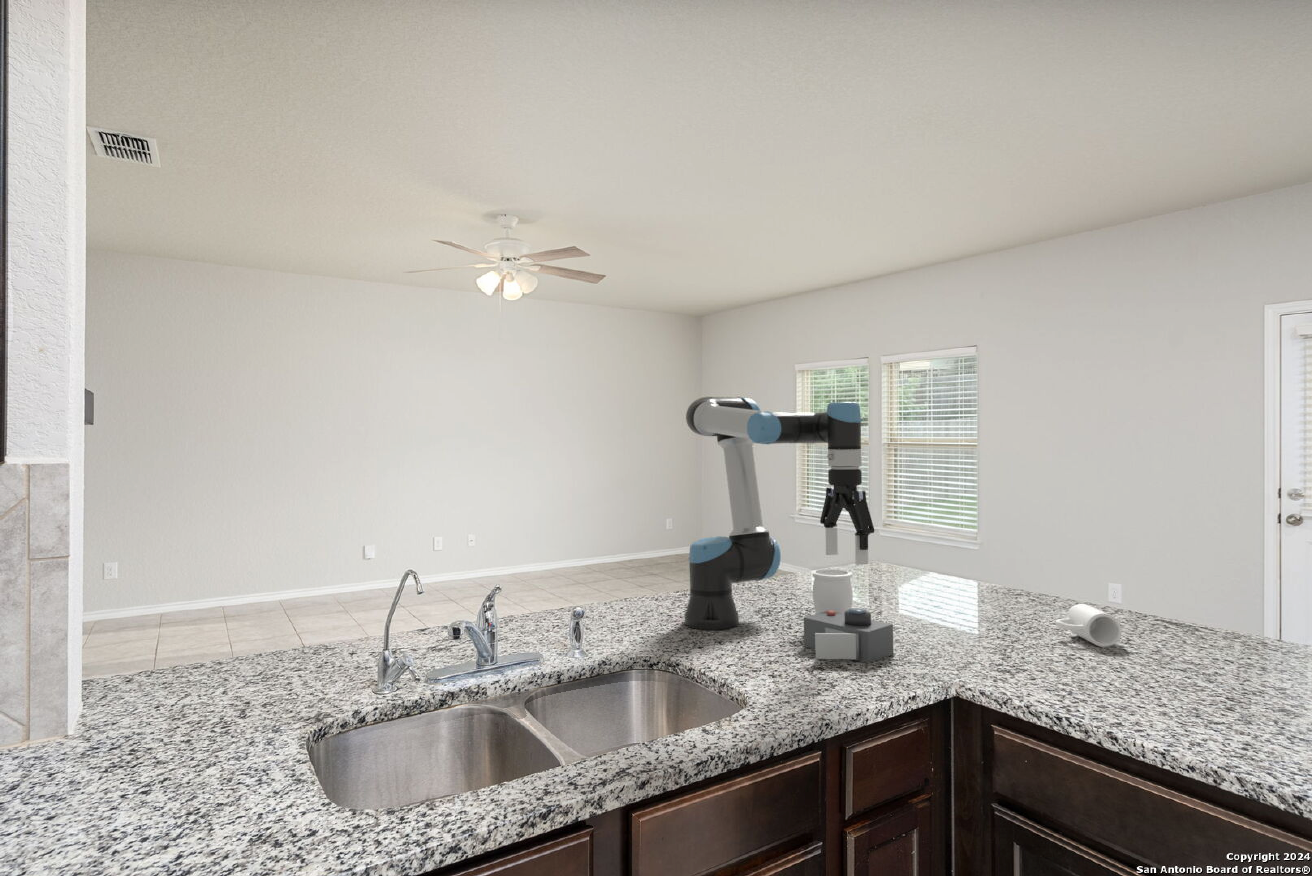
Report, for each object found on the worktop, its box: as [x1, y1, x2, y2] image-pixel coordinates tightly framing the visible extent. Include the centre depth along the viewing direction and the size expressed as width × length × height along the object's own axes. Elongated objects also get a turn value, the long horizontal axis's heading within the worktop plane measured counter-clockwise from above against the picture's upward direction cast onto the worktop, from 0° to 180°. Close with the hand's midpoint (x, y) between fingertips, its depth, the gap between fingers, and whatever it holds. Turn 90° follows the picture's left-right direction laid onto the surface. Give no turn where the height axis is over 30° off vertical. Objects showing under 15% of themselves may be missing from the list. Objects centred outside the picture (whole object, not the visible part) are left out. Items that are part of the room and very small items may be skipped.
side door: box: [814, 633, 859, 660], centre depth 152 cm, size 10×1×6 cm, turn 84°
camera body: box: [803, 607, 894, 664], centre depth 160 cm, size 18×10×10 cm, turn 39°
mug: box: [1055, 603, 1123, 648], centre depth 164 cm, size 12×10×8 cm
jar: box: [811, 568, 854, 614], centre depth 179 cm, size 11×10×15 cm
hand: (846, 559), depth 156 cm, fingers open, 13 cm apart
